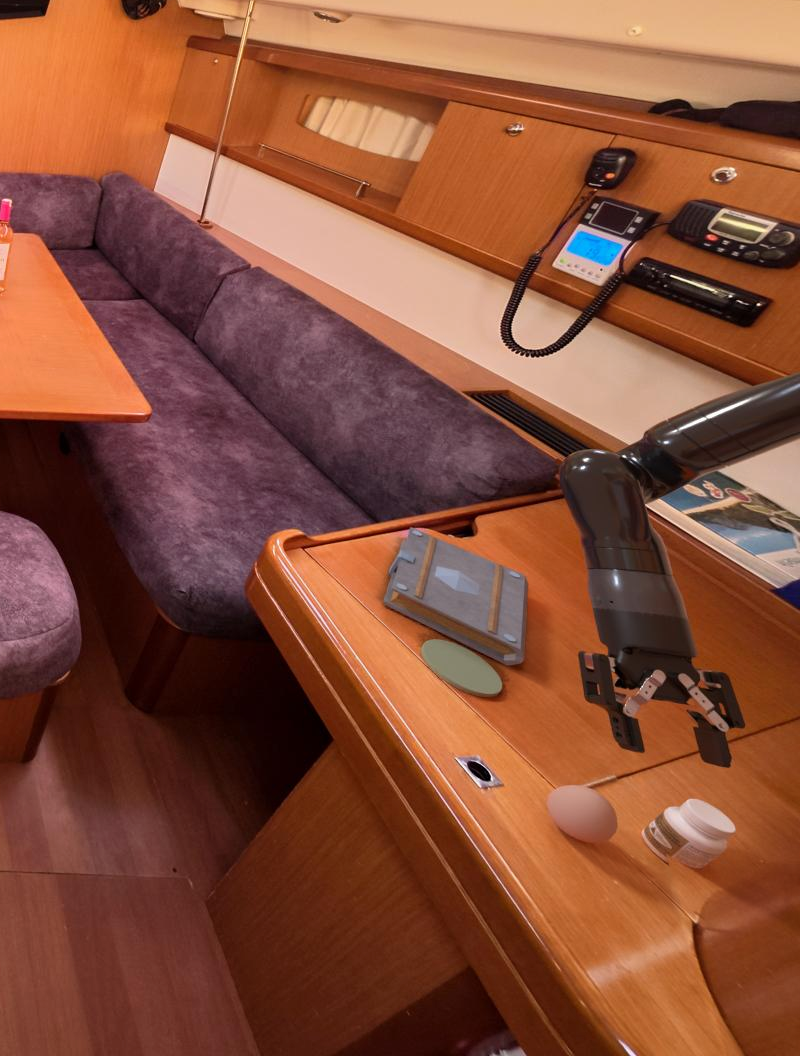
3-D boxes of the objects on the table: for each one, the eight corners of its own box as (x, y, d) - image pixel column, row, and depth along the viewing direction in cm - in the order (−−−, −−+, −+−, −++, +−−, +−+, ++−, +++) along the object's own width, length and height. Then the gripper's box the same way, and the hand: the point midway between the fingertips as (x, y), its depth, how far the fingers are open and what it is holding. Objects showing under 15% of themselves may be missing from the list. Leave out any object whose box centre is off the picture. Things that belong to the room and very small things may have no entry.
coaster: (497, 666, 94) (499, 663, 93) (502, 710, 88) (505, 706, 87) (420, 632, 99) (422, 628, 99) (420, 671, 93) (422, 667, 92)
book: (514, 671, 93) (532, 649, 91) (378, 603, 104) (391, 582, 101) (519, 595, 106) (535, 574, 104) (398, 542, 117) (409, 522, 115)
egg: (571, 808, 76) (603, 777, 73) (611, 858, 72) (646, 826, 69) (524, 800, 77) (554, 768, 74) (560, 848, 72) (593, 817, 69)
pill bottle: (631, 822, 75) (671, 786, 72) (682, 841, 74) (725, 805, 70) (654, 861, 72) (696, 825, 68) (708, 882, 70) (755, 846, 67)
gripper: (604, 604, 75) (639, 756, 70) (742, 623, 73) (789, 781, 68) (544, 599, 82) (572, 737, 77) (669, 616, 80) (706, 759, 75)
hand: (674, 758), depth 73 cm, fingers open, 8 cm apart
